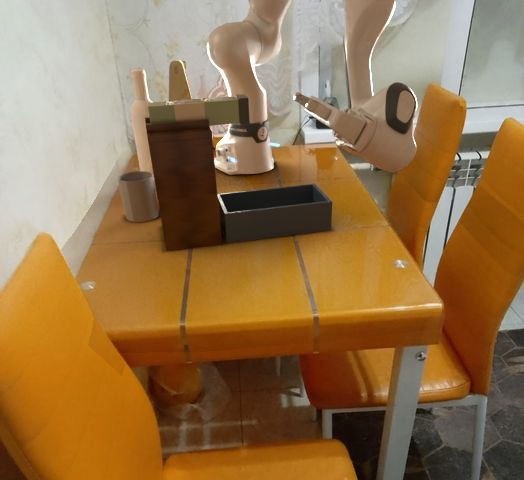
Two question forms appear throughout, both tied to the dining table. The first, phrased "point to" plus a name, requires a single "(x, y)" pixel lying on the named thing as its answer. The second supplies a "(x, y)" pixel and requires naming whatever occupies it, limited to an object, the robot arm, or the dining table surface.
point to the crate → (274, 212)
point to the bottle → (141, 119)
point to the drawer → (202, 110)
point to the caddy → (178, 81)
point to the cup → (139, 196)
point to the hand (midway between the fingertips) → (301, 99)
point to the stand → (185, 182)
